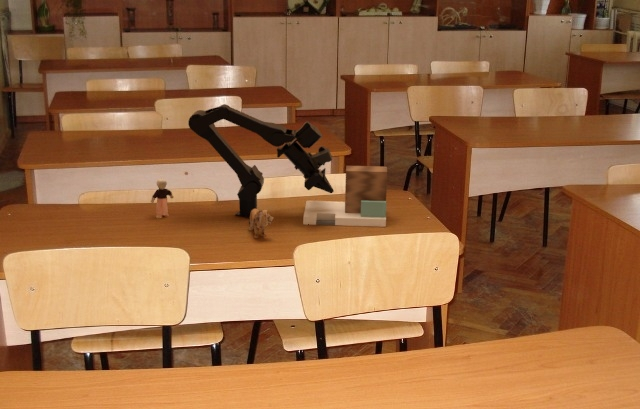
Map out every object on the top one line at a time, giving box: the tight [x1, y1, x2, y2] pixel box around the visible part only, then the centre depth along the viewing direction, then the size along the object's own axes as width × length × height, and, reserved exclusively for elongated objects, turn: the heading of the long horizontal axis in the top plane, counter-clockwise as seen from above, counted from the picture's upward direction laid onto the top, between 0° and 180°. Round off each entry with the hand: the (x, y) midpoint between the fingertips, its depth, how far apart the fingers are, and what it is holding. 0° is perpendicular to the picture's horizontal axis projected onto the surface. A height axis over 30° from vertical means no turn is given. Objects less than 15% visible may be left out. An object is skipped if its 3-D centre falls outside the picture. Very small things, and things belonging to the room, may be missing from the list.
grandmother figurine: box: [150, 178, 174, 219], centre depth 252 cm, size 8×4×13 cm, turn 137°
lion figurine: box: [248, 208, 274, 239], centre depth 239 cm, size 15×5×9 cm, turn 27°
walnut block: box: [344, 165, 388, 213], centre depth 252 cm, size 13×6×14 cm, turn 87°
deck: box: [302, 200, 388, 228], centre depth 254 cm, size 26×16×8 cm, turn 87°
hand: (332, 192), depth 253 cm, fingers closed
